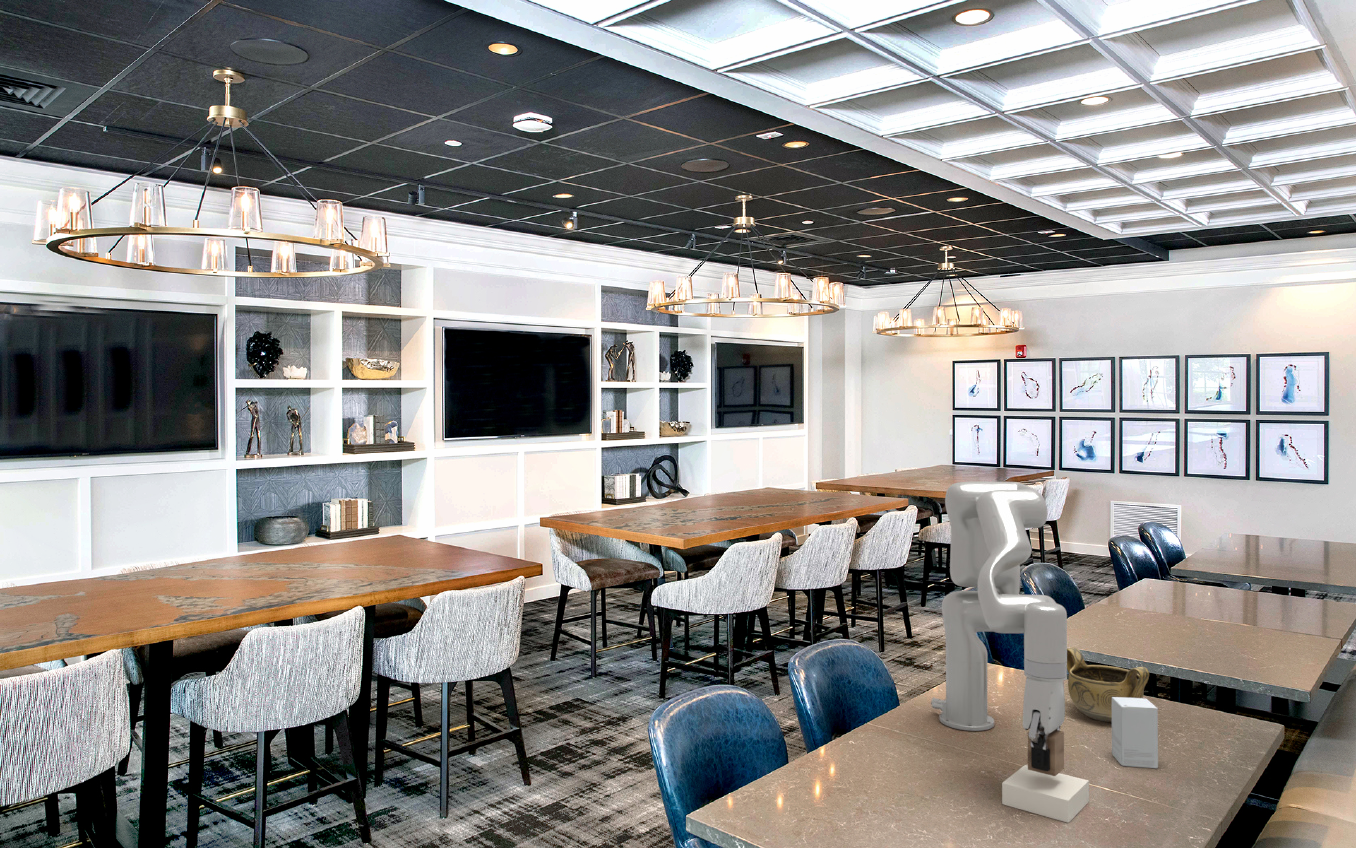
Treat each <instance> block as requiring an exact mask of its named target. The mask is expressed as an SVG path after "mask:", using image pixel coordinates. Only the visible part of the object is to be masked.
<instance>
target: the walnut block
mask: <svg viewBox="0 0 1356 848" xmlns="http://www.w3.org/2000/svg"><path fill="white" fill-rule="evenodd" d="M1039 731H1042V732H1044V729H1043V728H1039ZM1039 737H1041V738H1042V740H1043V739H1044V735H1040V734H1039ZM1064 743H1065V732H1064V731H1062V730H1060V731H1059V730H1054V731H1053V732H1051V733H1049V739H1048V749H1049V750H1050V770H1049V771H1043V770H1039V769H1035V768H1032V766H1031V740H1030V738H1029V731H1028V732H1027V765H1028V770H1032V771H1036V772H1040V773H1044V774H1048V775H1052V776H1056V775H1057V774H1058V773H1061V772H1062V771H1063V770H1064V769H1065V744H1064Z"/></svg>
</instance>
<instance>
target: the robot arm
mask: <svg viewBox="0 0 1356 848" xmlns="http://www.w3.org/2000/svg"><path fill="white" fill-rule="evenodd" d="M944 501H945V502H944V503H945V510H946V513H947V514H946V515H947V517H948V520H949V524H950V533H951V535H950V554H949V555H950V556H949V557H950V559H949V561H950V563H949V567H950V568H949V573H950V579H951V581H952V583H954V584H955V585H957V586H958V587H963V588H977V590H958V591H952V592H950V593H948V594H946V595H945V596H944V598H943V599H942V602H941V613H942V614H941V615H942V620H943V625H944V635H945V699H940V698H937V697H932V698H931V700H930V701H931V702H930V704H931V708H932V709H936V710H940V714H939V721H940V723H942V724H943V725H944V726H947V727H948V728H952V729H955V730H961V731H968V732H969V731H970V732H971V731H972V732H981V731H987V730H990V729H992V728H994V726H995V719H994V718H993V717H992V716H990V715H988V650H987V647H986V645H985V644H984V642H983V641H982V640H981V639H980V638H979V636H978V635H977V633H980V632H981V633H982V632H994V633H998V634H1023V649H1024V651H1023V654H1024V655H1023V657H1024V659H1023V667H1024V668H1023V669H1024V670H1023V671H1024V673H1023V675H1024V677H1026V678H1025V684H1024V692H1023V709H1022V727H1023V729H1024V730H1025V731H1028V730H1029V731H1028V732H1029V738H1030V740H1031V766H1032V768H1035V769H1039V770H1043V771H1049V770H1050V750H1049V749H1048V739H1049V733H1051V732H1053V731H1054V730H1059V731H1061V730H1060V729H1061V728H1062V727H1061V726H1062V725H1063V723H1064V722H1065V716H1066V715H1065V713H1066V702H1065V700H1066V699H1065V698H1066V697H1065V681H1066V680H1067V681H1068V670H1067V648H1068V623H1067V622H1068V621H1067V619H1068V615H1067V614H1068V613H1067V610H1066V608H1065V607H1064V606H1063V605H1062V604H1059V603H1057V602H1056V601H1055V599H1054V598H1052V597H1051V596H1049V595H1044V594H1020V591H1021V588H1020V587H1021V586H1020V585H1021V567H1020V566H1021V565H1022V564H1023V563H1025V562H1026V561H1027V560H1028V559H1029V558H1030V557H1031V556H1032V555H1031V554H1032V553H1033V552H1032V550H1033V549H1032V546H1031V543H1030V539H1029V536H1028V534H1027V531H1026V529H1038V528H1042V527H1043V526H1044V525H1045V524H1046V522H1047V520H1048V506H1047V502H1046V501H1045V498H1044V496H1043V495H1042V494H1041V493H1040V492H1039V491H1038V490H1037V489H1035V488H1033V487H1031V486H1028V485H1026V484H1024V483H1022V482H1017V481H962V482H956V483H953V484H951V485H950V486H949V487H948V488H947V490H946V493H945V498H944ZM1039 728H1043V729H1044V732H1042V731H1039ZM1039 734H1040V735H1044V739H1043V740H1042V738H1041V737H1039Z"/></svg>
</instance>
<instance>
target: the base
mask: <svg viewBox="0 0 1356 848" xmlns="http://www.w3.org/2000/svg"><path fill="white" fill-rule="evenodd" d="M1001 786H1002V787H1001V802H1002V803H1001V804H1002V805H1005V806H1007V807H1011V808H1015V809H1019V810H1021V811H1025V812H1028V813H1032V814H1036V815H1040V816H1042V817H1046V818H1050V819H1053V820H1058V821H1060V822H1064V823H1068V824H1069V823H1070V822H1071V821H1072V820H1073V819H1074V817H1076V815H1078V814H1079V813H1080V812H1081V810H1082V809H1083V808H1084V807H1086V806H1087V804H1088V803H1089V802H1090V780H1088V779H1084V778H1081V777H1080V778H1079V777H1076V776H1073V775H1068V774H1064V773H1061V772H1060V773H1058V774H1057V775H1056V776H1052V775H1048V774H1044V773H1040V772H1036V771H1032V770H1028V764H1024V765H1023V766H1021V767H1020V768H1019V769H1018V770H1017V771H1015V772H1014V773H1013V774H1011V775H1010V776H1009V777H1008V778H1006V779H1005V780H1004V781H1002V783H1001Z"/></svg>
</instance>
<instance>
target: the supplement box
mask: <svg viewBox="0 0 1356 848" xmlns="http://www.w3.org/2000/svg"><path fill="white" fill-rule="evenodd" d="M1158 710H1159V709H1158V707H1157V706H1156V705H1154V704H1153V703H1152V702H1151V701H1150V700H1149V699H1147V698H1145V697H1143V698H1126V697H1112V722H1111V754H1112V756H1113V757H1114V758H1115V760H1116V761H1118V763H1119V764H1120V765H1121V766H1123V767H1135V768H1146V769H1147V768H1148V769H1149V768H1151V769H1158V768H1159V740H1158V739H1159V718H1158V717H1159V715H1158Z"/></svg>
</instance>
